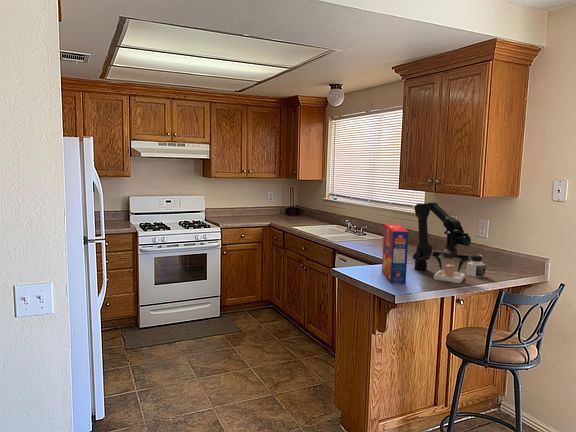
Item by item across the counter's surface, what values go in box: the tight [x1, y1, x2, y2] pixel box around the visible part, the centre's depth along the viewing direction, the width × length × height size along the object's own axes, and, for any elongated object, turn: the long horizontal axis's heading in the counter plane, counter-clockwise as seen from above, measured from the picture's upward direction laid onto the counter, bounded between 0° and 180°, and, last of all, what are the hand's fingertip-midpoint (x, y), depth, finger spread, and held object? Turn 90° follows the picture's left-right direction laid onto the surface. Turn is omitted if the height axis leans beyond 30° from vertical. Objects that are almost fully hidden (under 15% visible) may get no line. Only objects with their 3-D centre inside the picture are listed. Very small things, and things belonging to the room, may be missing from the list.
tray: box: [433, 269, 466, 284], centre depth 245 cm, size 14×14×2 cm
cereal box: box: [381, 223, 410, 285], centre depth 244 cm, size 28×8×28 cm, turn 177°
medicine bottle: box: [465, 254, 487, 278], centre depth 253 cm, size 7×7×12 cm
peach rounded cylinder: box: [444, 264, 456, 278], centre depth 244 cm, size 5×5×7 cm
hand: (449, 270), depth 244 cm, fingers open, 9 cm apart
